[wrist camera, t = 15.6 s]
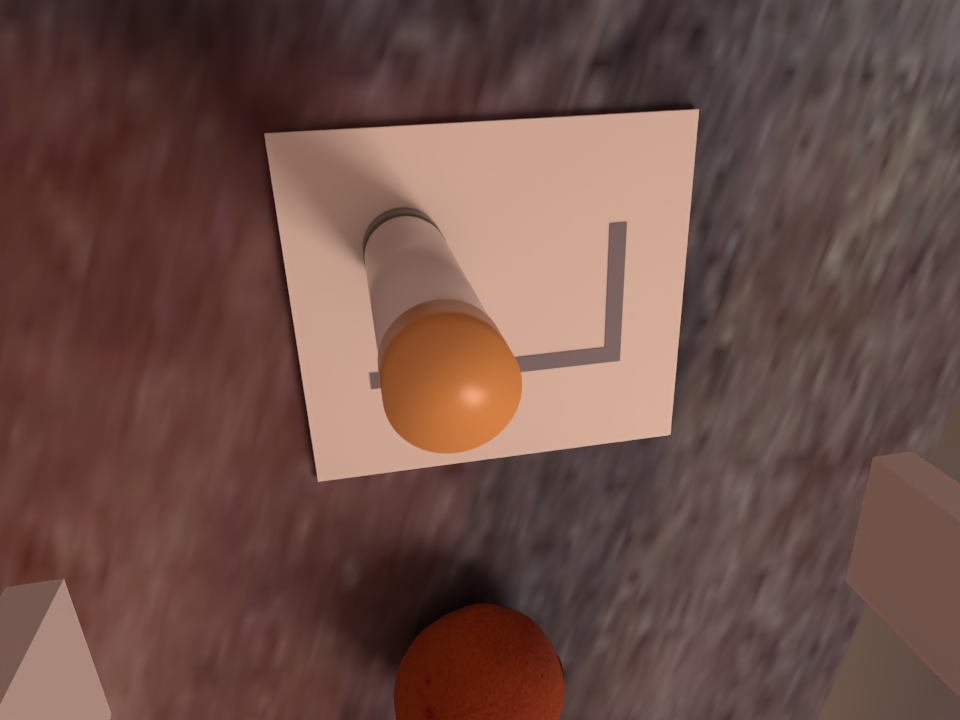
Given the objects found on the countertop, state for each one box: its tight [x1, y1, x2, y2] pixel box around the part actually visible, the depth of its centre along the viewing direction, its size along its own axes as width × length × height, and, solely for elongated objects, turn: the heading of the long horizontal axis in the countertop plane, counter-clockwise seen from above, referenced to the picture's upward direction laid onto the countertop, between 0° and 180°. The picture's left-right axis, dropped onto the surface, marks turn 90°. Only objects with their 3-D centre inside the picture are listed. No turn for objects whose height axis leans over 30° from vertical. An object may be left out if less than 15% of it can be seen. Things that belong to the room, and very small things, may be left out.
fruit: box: [394, 603, 565, 720], centre depth 36 cm, size 9×9×8 cm
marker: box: [362, 207, 522, 454], centre depth 24 cm, size 4×4×14 cm
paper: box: [264, 109, 699, 482], centre depth 32 cm, size 18×16×1 cm
